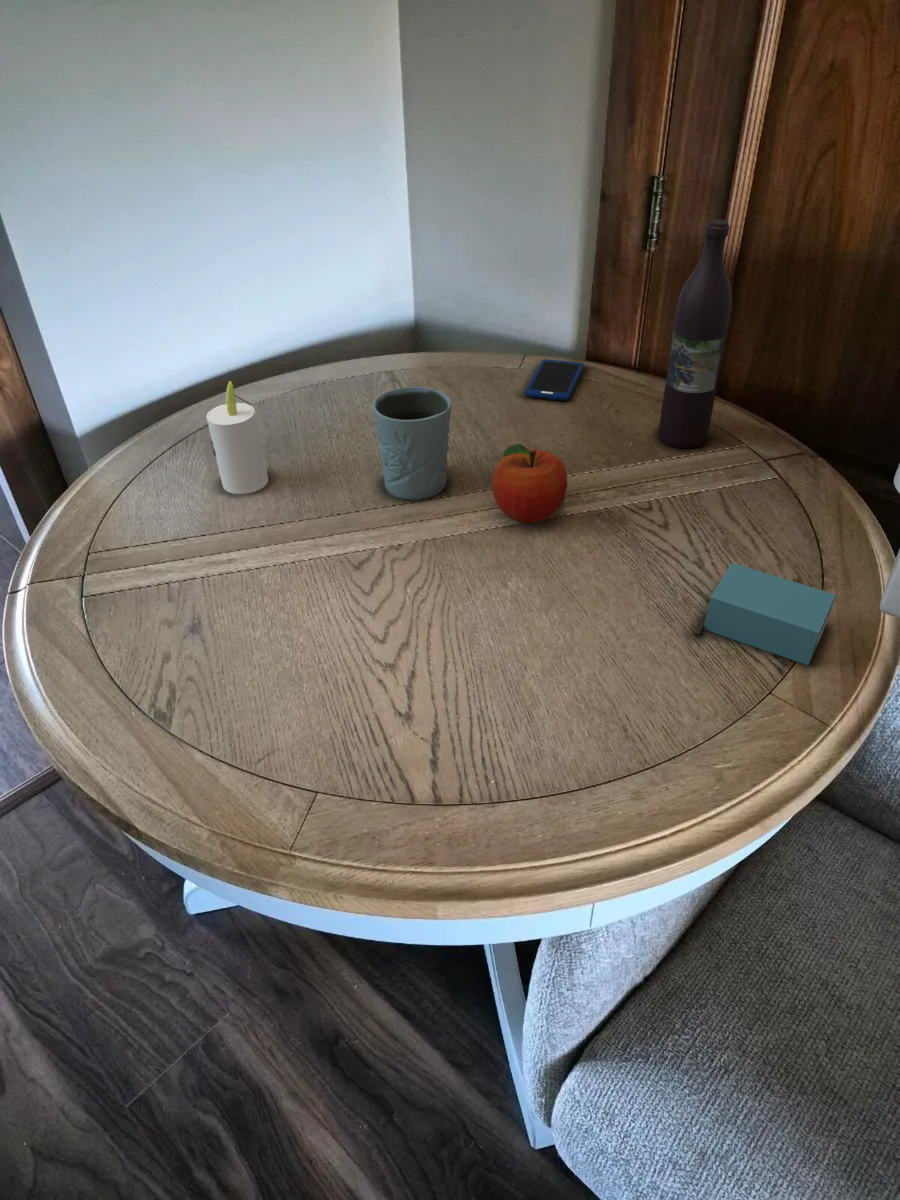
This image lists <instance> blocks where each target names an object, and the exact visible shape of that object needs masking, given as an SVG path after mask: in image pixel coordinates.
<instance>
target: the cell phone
mask: <svg viewBox="0 0 900 1200" xmlns="http://www.w3.org/2000/svg"><path fill="white" fill-rule="evenodd" d="M584 368H585V364H584V363H583V362H578V361H577V362H576V361H566V360H559V359H558V360H557V359H543V360H541V362H540V364H539V365H538V367H537V369H536V370H535V373H534V375H532V377H531V379H530V381H529V383H528V384H527V387H526V388H525V391H524V396H525V397H527V398H534V399H542V400H543V399H544V400H553V401H562V402H568V401H569V400H570V398H571V396H572V394H573V392H574V390H575V388H576V386H577V383H578V382H579V379H580V377H581V375H582V373H583V371H584Z"/></svg>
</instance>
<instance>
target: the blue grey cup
mask: <svg viewBox="0 0 900 1200" xmlns="http://www.w3.org/2000/svg"><path fill="white" fill-rule="evenodd" d="M371 407H372V413H373V419H374V423H375V430H376V435H377V439H378V441H379V442H378V443H379V446H378V450H379V453H380V454H379V457H380V459H381V460H380V462H381V463H382V474H383V475H382V476H383V482H384V487H385V489H386V491H387V492H388V493H389V494H390V495H392V496H394V497H396V498H398V499H402V500H410V501H411V500H412V501H418V500H425V499H428V498H432V497H434V496H437V495H439V493H441V492H442V491H443V490H444V489H445V487H446V485H447V478H448V477H447V476H448V475H447V470H448V452H449V449H448V448H449V438H450V436H449V433H450V423H451V414H452V413H451V411H452V401H451V399H450V397H449V396H448V395H447V394H445V393H444V392H443V391H440V390H438V389H435V388H429V387H423V386H408V387H401V388H396V389H392V390H388V391H385V392H383V393H381V394H380V395H378V396H377V397H376V398H375V399H374V400H373V402H372V405H371Z"/></svg>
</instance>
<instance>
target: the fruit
mask: <svg viewBox="0 0 900 1200" xmlns="http://www.w3.org/2000/svg"><path fill="white" fill-rule="evenodd" d="M502 456H503V458H502V459H500V461H498V463H497V466H496V467H495V469H494V472H493V474H492V478H491V479H492V480H491V485H492V491H493V492H492V494H493V498H494V500H495V503H496V505H497V506H498V508H499V510H500V511H501V512H502V513H503V515H504V516H506V517H507V518H509V519H510V520H512V521H515V522H518V523H523V524H524V523H525V524H530V523H533V524H534V523H539V522H542V521H545V520H547V519H549V518H550V517H551V516H552V515H554V514H555V513H556V511H558V510H559V508H560V507H561V505H562V503H563V502H564V500H565V496H566V493H567V489H568V475H567V469H566V466H565V465H564V463H563V462H562V461H561V460H560V459H559V458H558V456H556V455H555V454H554V453H552V452H550V451H548V450H543V449H538V448H537V449H535V448H527V447H526V446H525V445H522V444H520V443H515V444H512V445H508V447H506V449H504V452H503V454H502Z"/></svg>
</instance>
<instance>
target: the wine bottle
mask: <svg viewBox="0 0 900 1200" xmlns="http://www.w3.org/2000/svg"><path fill="white" fill-rule="evenodd" d="M730 227H731V226H730V224H729V221H728V220H726V219H722V218H712V219H708V220H707V223H706V224H705V227H704V236H705V238H704V244H703V250H702V252H701V257H700V260H699V261H698V263H697V265H696V266H695V268H694V270H693V271H692V272H691V274H690V275H689V277H688V278H687V279H686V281H685V283H684V285H683V287H682V288H681V291H680V293H679V296H678V300H677V306H676V309H675V314H674V315H675V316H674V321H673V322H674V323H673V329H672V336H671V343H670V348H669V357H668V362H667V363H668V364H667V371H666V378H665V383H664V391H663V397H662V404H661V411H660V417H659V424H658V430H657V431H658V433H657V434H658V438H659V440H660V441H661V442H663V443H664V444H665V445H667V446H670V447H674V448H677V449H678V448H679V449H693V448H697V447H700V446H702V445H704V444H705V443H706V441H707V439H708V435H709V432H710V431H709V430H710V426H711V420H712V416H713V409H714V405H715V399H716V395H717V388H718V384H719V378H720V374H721V367H722V362H723V357H724V353H725V347H726V341H727V335H728V330H729V325H730V320H731V314H732V306H733V291H732V287H731V282H730V280H729V277H728V273H727V271H726V267H725V263H724V257H725V256H724V255H725V254H724V252H725V246H726V240H727V237H728V236H729V231H730Z"/></svg>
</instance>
